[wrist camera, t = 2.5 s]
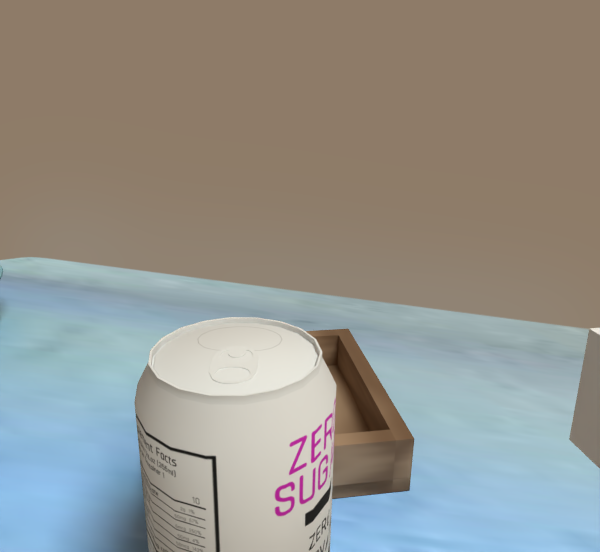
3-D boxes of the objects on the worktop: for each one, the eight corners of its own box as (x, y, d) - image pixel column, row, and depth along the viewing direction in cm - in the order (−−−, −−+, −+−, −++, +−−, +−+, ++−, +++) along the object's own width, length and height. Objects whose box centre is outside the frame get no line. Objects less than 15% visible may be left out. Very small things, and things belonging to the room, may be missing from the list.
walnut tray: (160, 517, 35) (155, 462, 33) (172, 379, 50) (169, 339, 49) (409, 490, 37) (414, 438, 36) (346, 367, 53) (348, 328, 52)
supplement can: (176, 558, 32) (157, 311, 27) (323, 559, 32) (331, 313, 27) (137, 711, 24) (102, 404, 19) (331, 711, 24) (346, 406, 19)
